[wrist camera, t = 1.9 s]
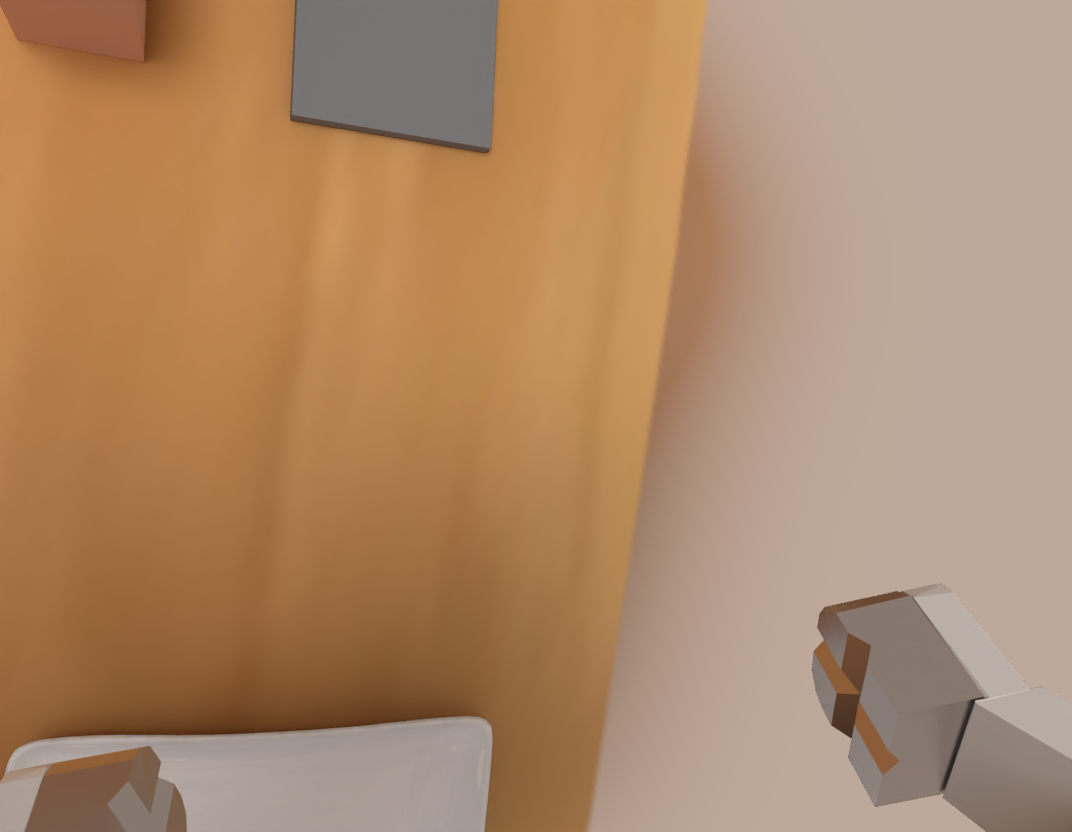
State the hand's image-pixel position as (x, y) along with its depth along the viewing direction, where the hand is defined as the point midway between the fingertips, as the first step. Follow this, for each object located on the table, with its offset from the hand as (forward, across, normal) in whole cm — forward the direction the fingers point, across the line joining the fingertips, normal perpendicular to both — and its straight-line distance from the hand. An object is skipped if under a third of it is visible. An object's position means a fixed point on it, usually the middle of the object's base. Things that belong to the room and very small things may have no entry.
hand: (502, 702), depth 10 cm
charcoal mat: (+40, 0, 0) cm, 40 cm away
